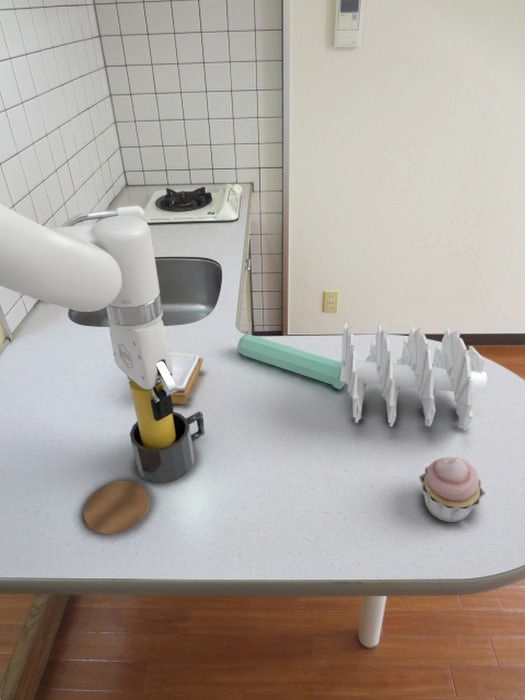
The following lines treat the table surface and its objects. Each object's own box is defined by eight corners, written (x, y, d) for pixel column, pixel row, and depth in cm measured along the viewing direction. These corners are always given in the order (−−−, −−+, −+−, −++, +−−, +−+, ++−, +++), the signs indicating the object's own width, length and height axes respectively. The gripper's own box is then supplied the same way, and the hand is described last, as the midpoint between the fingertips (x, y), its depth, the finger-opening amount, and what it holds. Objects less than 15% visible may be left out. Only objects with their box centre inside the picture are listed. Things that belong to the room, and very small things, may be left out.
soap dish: (188, 410, 102) (184, 389, 99) (140, 405, 103) (135, 385, 100) (205, 372, 112) (202, 352, 109) (161, 368, 113) (157, 349, 111)
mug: (157, 493, 85) (150, 460, 81) (127, 461, 91) (119, 429, 87) (221, 452, 92) (217, 420, 88) (190, 425, 98) (185, 394, 94)
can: (135, 446, 86) (122, 387, 79) (152, 424, 90) (141, 367, 83) (166, 453, 84) (155, 394, 77) (181, 430, 88) (172, 372, 82)
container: (235, 331, 113) (340, 364, 101) (250, 329, 118) (352, 359, 106) (231, 357, 115) (334, 392, 103) (246, 354, 120) (346, 386, 108)
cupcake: (461, 478, 85) (472, 433, 79) (489, 526, 77) (505, 480, 72) (405, 486, 84) (413, 441, 78) (429, 535, 76) (439, 489, 71)
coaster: (71, 525, 80) (70, 522, 80) (107, 477, 88) (106, 475, 88) (128, 541, 78) (127, 539, 77) (160, 490, 85) (159, 488, 85)
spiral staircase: (472, 449, 96) (334, 435, 98) (465, 364, 104) (339, 353, 107) (508, 408, 80) (343, 393, 82) (496, 312, 89) (348, 301, 91)
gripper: (81, 295, 77) (105, 392, 87) (143, 340, 66) (162, 446, 76) (127, 279, 81) (145, 373, 91) (192, 319, 70) (204, 422, 80)
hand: (152, 405), depth 83 cm, fingers closed on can, 5 cm apart
